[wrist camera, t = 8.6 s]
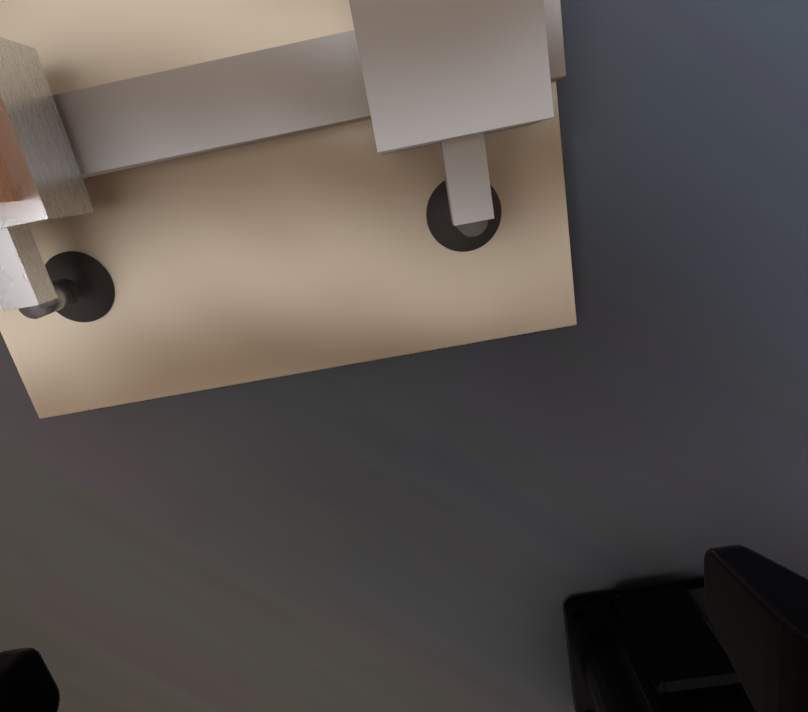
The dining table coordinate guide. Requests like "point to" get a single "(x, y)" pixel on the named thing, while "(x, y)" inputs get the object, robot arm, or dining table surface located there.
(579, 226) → the dining table surface
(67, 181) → the sliding leg
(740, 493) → the dining table surface
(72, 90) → the wooden base plate
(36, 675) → the robot arm
